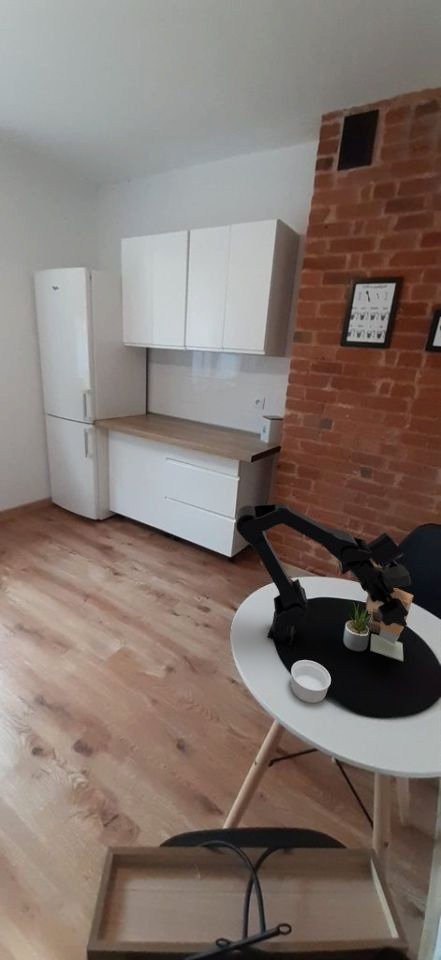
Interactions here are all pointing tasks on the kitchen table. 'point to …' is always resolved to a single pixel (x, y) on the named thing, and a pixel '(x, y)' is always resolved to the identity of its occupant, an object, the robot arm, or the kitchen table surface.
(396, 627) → the orange rectangular block
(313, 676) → the ramekin
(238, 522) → the robot arm
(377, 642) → the mat
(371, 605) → the header
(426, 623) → the kitchen table surface
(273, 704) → the kitchen table surface
